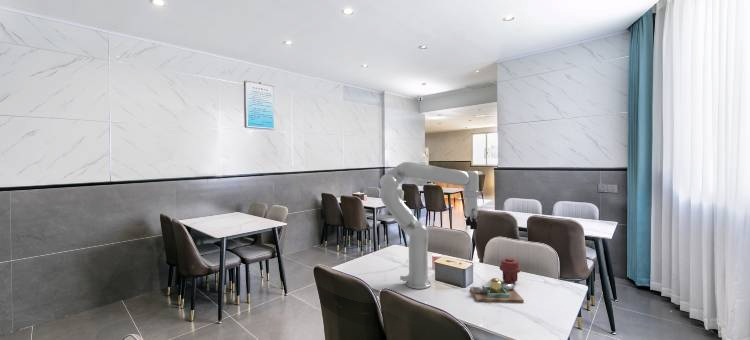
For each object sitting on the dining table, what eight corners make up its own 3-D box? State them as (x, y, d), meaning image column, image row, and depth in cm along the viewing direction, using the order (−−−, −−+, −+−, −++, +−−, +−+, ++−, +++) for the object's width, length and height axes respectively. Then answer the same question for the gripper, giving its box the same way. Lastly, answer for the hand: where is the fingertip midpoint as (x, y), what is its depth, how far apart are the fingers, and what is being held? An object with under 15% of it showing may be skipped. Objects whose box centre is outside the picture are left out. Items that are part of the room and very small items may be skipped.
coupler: (490, 294, 147) (491, 280, 147) (488, 290, 152) (489, 277, 152) (501, 295, 146) (502, 281, 146) (499, 291, 151) (499, 277, 151)
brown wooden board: (477, 301, 143) (477, 292, 143) (470, 289, 157) (470, 280, 157) (523, 302, 141) (523, 292, 141) (512, 290, 155) (512, 281, 155)
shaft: (507, 293, 150) (507, 285, 150) (501, 290, 153) (501, 283, 153) (515, 291, 152) (515, 283, 152) (509, 288, 155) (509, 281, 155)
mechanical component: (518, 279, 169) (522, 287, 159) (498, 278, 171) (501, 285, 161) (518, 256, 168) (522, 262, 159) (497, 255, 170) (501, 261, 161)
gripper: (460, 193, 176) (461, 224, 176) (467, 196, 158) (467, 230, 159) (474, 193, 175) (475, 224, 175) (482, 196, 158) (483, 230, 158)
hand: (471, 227), depth 167 cm, fingers open, 9 cm apart
